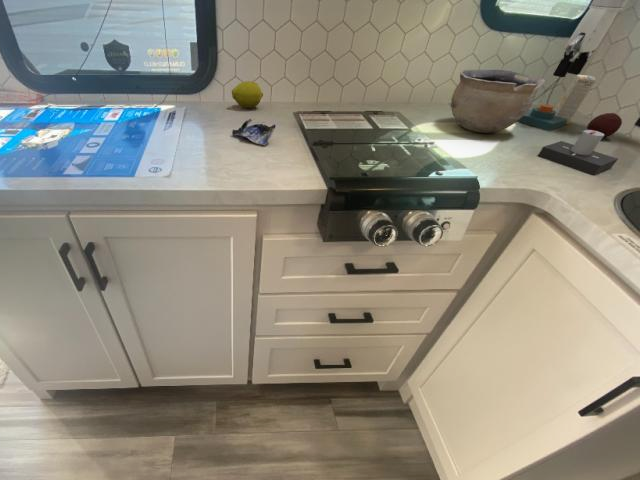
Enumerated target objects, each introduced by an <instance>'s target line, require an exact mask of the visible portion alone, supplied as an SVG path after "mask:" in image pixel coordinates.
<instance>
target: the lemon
mask: <svg viewBox="0 0 640 480" xmlns="http://www.w3.org/2000/svg"><path fill="white" fill-rule="evenodd" d="M231 96H232V97H231V98H232V99H233V100H234V101H235V102H236V104H237V105H239V106H240V107H242V108H245V109H253V108H255V107H257V106H258V105H259V104H260V103H261V100H262V98H263V97H264V93H263V92H262V90H261V87H260V85H259V84H258V83H257V82H254V81H250V80H246V81H243V82H240V83H238V84H237V85H236V86H235V87H233V88H232V89H231Z"/></svg>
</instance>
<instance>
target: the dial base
mask: <svg viewBox="0 0 640 480" xmlns="http://www.w3.org/2000/svg"><path fill="white" fill-rule="evenodd" d="M573 146H574V144H573V143H570V142H567V141H563V140H561V141H557V142H554V143H551V144H547V145H544V146H542V148H541V150H540V151H539V153H538V155H537V157H541V158H543V159H545V160H549V161H552V162H555V163H557V164H560V165H563V166H566V167H569V168H571V169H575V170H577V171H580V172H584V173H587V174H589V175H592V176H595V175H597V174H600V173H603V172H605V171H607V170H609V169H612V167H614V166H615V163H617V161H618V160H619V158H618V157H615V156H611V155H608V154H605V153H602V152H599V151H595V150H593V151H592V153H591V154H590V155H579V154H576V153H573V152H572V151H571V148H572V147H573Z"/></svg>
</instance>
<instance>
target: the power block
mask: <svg viewBox="0 0 640 480" xmlns="http://www.w3.org/2000/svg"><path fill="white" fill-rule="evenodd" d="M539 108H540V106H539V107H537V106H536V107H533V108H532V109H531V108H530V109H529V110H528V111H527V112H526V113H525V114H524V115H523V116H522V117H521V118H520V119H519V120H518V121H517V122H518V123H521V124H525V125H528V126H530V127H531V126H532V127H535V128H538V129H541V130H545V131H552V130H555V129H559V128H562V127H564V126H565V125H566V124H565V123H566V121H567V120H568V119H564V118H561V117H557V116H555V114H556V111H555V110H554V109H552V111H551V112H543V111H539V110H538V109H539Z"/></svg>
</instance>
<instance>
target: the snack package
mask: <svg viewBox="0 0 640 480" xmlns="http://www.w3.org/2000/svg"><path fill="white" fill-rule="evenodd" d="M253 120H255V119H253ZM251 123H252V118H249V119H246V120H245V121H244V122H243V123H242V125H241V126H240V127H239V128H238V129H232V133H231V135H232V136H238V137H241V138H247V139H248V140H249V141H251V142H253V143H254V144H257V145H262V146H264V147H266V145H267V143H269V141H270V139H271V137H272V135H273V133H274V130H275V129H276V124H272V125H271V126H268V125H266V124H262V123H265V122H262V123H260V124H259V123H255V124H252V125H249V124H251Z"/></svg>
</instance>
